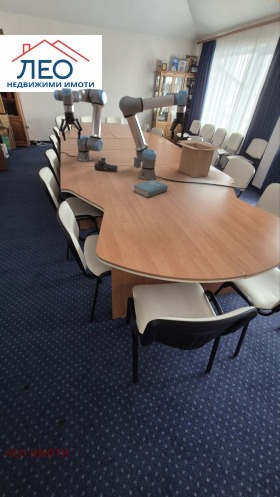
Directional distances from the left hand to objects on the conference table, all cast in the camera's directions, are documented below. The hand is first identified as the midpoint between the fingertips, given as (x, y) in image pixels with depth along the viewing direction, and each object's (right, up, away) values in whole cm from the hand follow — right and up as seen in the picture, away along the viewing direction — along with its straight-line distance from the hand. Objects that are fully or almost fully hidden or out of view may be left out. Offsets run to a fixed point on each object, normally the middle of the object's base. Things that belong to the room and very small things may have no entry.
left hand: (72, 140), depth 192 cm
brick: (+56, -9, +39) cm, 69 cm away
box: (+113, -17, +33) cm, 119 cm away
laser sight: (+26, -19, +22) cm, 39 cm away
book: (+68, -48, -14) cm, 84 cm away
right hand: (+94, +9, +15) cm, 95 cm away
